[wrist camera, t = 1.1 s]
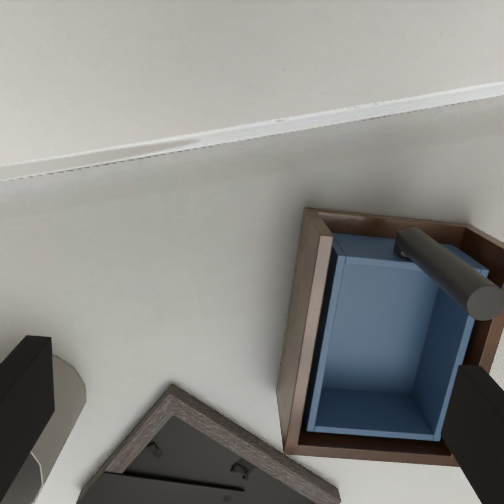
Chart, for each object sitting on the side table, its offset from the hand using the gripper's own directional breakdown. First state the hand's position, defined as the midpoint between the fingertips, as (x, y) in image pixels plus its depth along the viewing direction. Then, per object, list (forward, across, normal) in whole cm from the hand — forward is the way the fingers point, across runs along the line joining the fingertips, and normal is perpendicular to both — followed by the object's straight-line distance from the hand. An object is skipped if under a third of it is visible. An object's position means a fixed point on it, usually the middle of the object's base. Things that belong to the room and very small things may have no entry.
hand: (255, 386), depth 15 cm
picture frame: (+25, -1, -30) cm, 39 cm away
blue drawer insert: (+24, +12, -7) cm, 27 cm away
